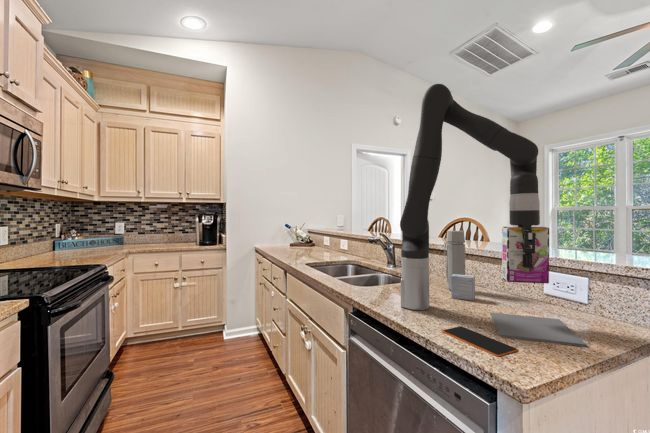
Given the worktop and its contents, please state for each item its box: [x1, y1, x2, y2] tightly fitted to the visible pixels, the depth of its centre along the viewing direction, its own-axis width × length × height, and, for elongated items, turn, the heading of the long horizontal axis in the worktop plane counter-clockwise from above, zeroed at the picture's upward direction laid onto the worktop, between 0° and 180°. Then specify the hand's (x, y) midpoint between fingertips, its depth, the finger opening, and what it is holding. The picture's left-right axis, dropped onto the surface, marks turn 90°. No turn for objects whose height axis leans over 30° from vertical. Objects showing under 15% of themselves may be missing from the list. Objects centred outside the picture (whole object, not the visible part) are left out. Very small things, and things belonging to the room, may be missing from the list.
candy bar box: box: [501, 226, 550, 284], centre depth 90 cm, size 11×5×16 cm, turn 78°
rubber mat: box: [490, 312, 588, 348], centre depth 84 cm, size 18×19×1 cm
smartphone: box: [441, 325, 519, 358], centre depth 77 cm, size 8×17×1 cm, turn 24°
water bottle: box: [441, 230, 466, 291], centre depth 129 cm, size 9×8×25 cm
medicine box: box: [450, 274, 476, 301], centre depth 116 cm, size 8×4×9 cm, turn 58°
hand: (524, 265), depth 90 cm, fingers closed on candy bar box, 5 cm apart
